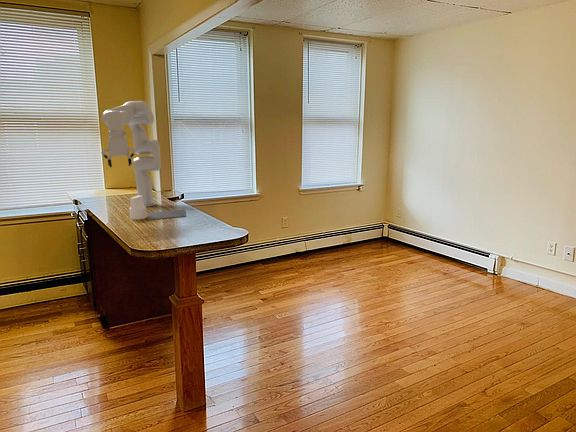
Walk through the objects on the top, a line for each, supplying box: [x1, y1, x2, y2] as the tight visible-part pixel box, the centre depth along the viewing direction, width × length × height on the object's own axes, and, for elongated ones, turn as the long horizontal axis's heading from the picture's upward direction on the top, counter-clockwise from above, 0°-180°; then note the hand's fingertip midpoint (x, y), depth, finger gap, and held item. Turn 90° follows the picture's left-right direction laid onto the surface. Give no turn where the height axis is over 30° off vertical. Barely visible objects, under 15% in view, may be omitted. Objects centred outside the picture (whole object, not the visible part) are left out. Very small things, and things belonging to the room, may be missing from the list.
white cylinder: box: [128, 195, 148, 220], centre depth 242 cm, size 9×9×12 cm
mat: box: [147, 209, 186, 221], centre depth 247 cm, size 20×20×1 cm
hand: (120, 166), depth 234 cm, fingers open, 9 cm apart
